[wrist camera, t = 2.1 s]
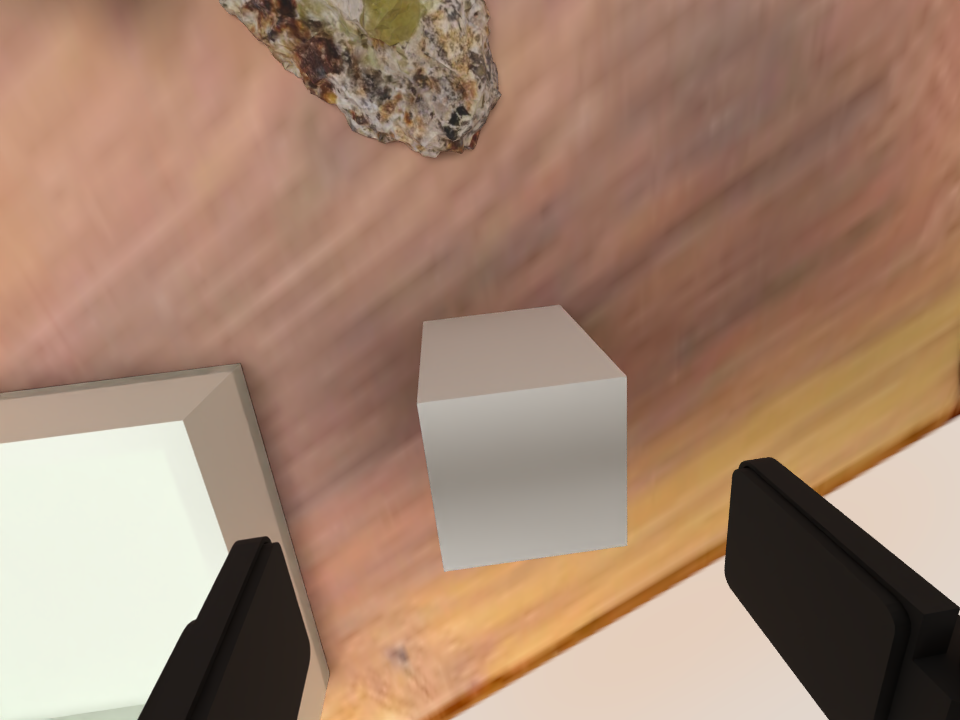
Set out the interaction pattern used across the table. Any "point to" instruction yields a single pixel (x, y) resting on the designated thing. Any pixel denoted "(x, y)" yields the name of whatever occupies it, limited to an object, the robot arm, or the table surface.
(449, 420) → the stone block
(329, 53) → the mineral rock
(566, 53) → the table surface
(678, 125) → the table surface
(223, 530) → the sage bin
